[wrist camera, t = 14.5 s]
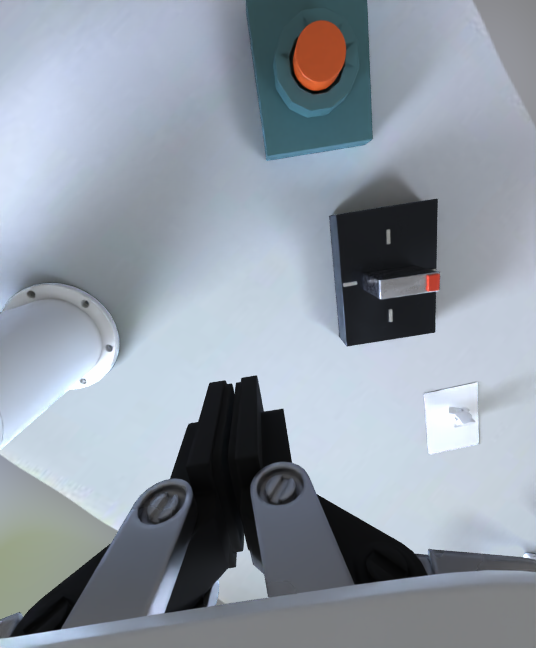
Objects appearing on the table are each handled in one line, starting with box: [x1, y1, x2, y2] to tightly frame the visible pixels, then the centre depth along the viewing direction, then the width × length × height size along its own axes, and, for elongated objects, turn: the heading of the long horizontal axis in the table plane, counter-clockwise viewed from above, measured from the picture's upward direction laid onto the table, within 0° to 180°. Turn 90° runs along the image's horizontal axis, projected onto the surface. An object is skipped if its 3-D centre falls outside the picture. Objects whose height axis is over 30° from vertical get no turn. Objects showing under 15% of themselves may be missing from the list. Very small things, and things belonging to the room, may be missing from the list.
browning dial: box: [363, 266, 440, 299], centre depth 30 cm, size 6×2×5 cm, turn 98°
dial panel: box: [329, 199, 438, 346], centre depth 33 cm, size 14×10×3 cm
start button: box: [293, 20, 346, 91], centre depth 25 cm, size 4×4×2 cm
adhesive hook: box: [447, 406, 477, 429], centre depth 40 cm, size 3×3×3 cm
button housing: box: [246, 0, 373, 161], centre depth 27 cm, size 12×10×4 cm
